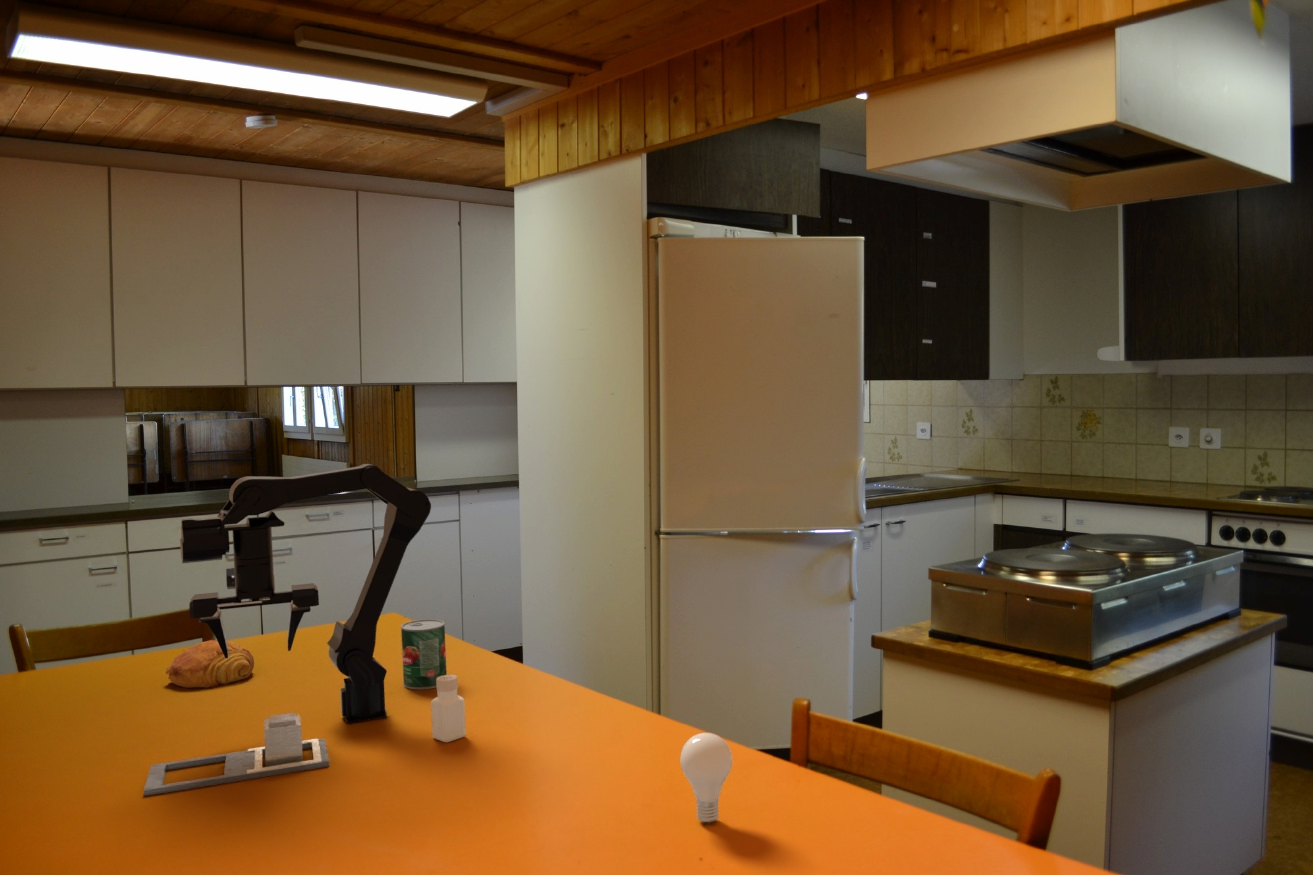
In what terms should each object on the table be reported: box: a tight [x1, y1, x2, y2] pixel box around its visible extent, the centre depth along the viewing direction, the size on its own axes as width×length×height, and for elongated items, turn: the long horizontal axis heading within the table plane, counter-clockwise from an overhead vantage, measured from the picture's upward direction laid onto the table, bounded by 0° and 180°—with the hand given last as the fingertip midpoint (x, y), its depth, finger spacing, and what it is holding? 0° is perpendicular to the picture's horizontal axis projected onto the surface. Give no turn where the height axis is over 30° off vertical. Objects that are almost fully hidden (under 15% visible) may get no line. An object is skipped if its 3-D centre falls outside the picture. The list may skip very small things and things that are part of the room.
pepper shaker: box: [430, 674, 467, 743], centre depth 153 cm, size 4×4×10 cm
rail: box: [143, 738, 330, 797], centre depth 143 cm, size 24×10×1 cm, turn 112°
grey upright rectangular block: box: [263, 712, 304, 767], centre depth 145 cm, size 5×5×7 cm
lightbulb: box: [679, 732, 733, 824], centre depth 121 cm, size 6×6×11 cm
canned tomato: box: [400, 619, 448, 690], centre depth 182 cm, size 8×8×11 cm
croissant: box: [165, 639, 255, 689], centre depth 190 cm, size 14×16×8 cm
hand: (258, 653), depth 157 cm, fingers open, 9 cm apart
